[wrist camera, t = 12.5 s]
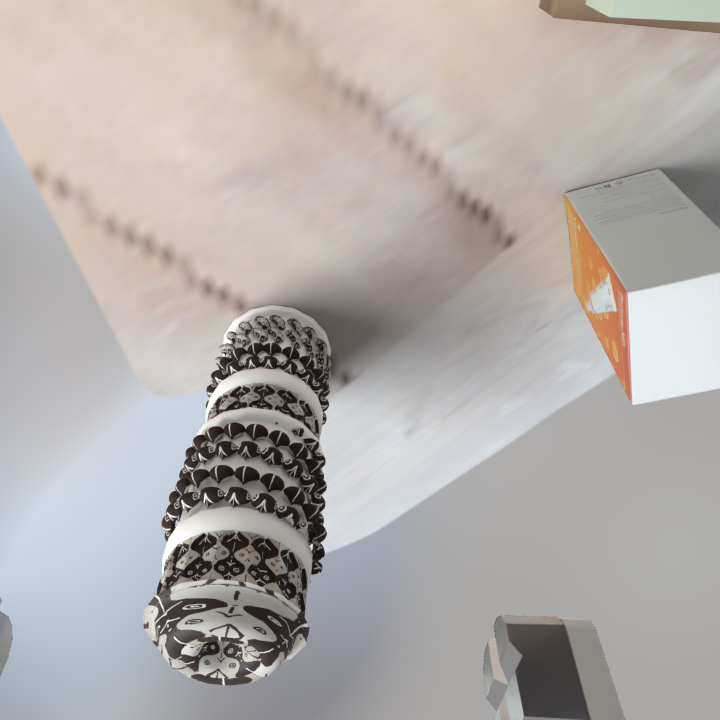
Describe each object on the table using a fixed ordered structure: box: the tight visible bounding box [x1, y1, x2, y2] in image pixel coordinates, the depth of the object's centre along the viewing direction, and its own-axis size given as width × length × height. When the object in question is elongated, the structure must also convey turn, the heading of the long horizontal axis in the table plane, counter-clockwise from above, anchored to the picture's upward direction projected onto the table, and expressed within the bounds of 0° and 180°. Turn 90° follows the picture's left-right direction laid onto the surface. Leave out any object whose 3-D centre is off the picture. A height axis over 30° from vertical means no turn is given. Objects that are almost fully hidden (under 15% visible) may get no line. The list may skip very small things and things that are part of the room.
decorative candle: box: [143, 305, 332, 685], centre depth 41 cm, size 9×9×25 cm
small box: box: [564, 169, 720, 405], centre depth 39 cm, size 8×6×13 cm
